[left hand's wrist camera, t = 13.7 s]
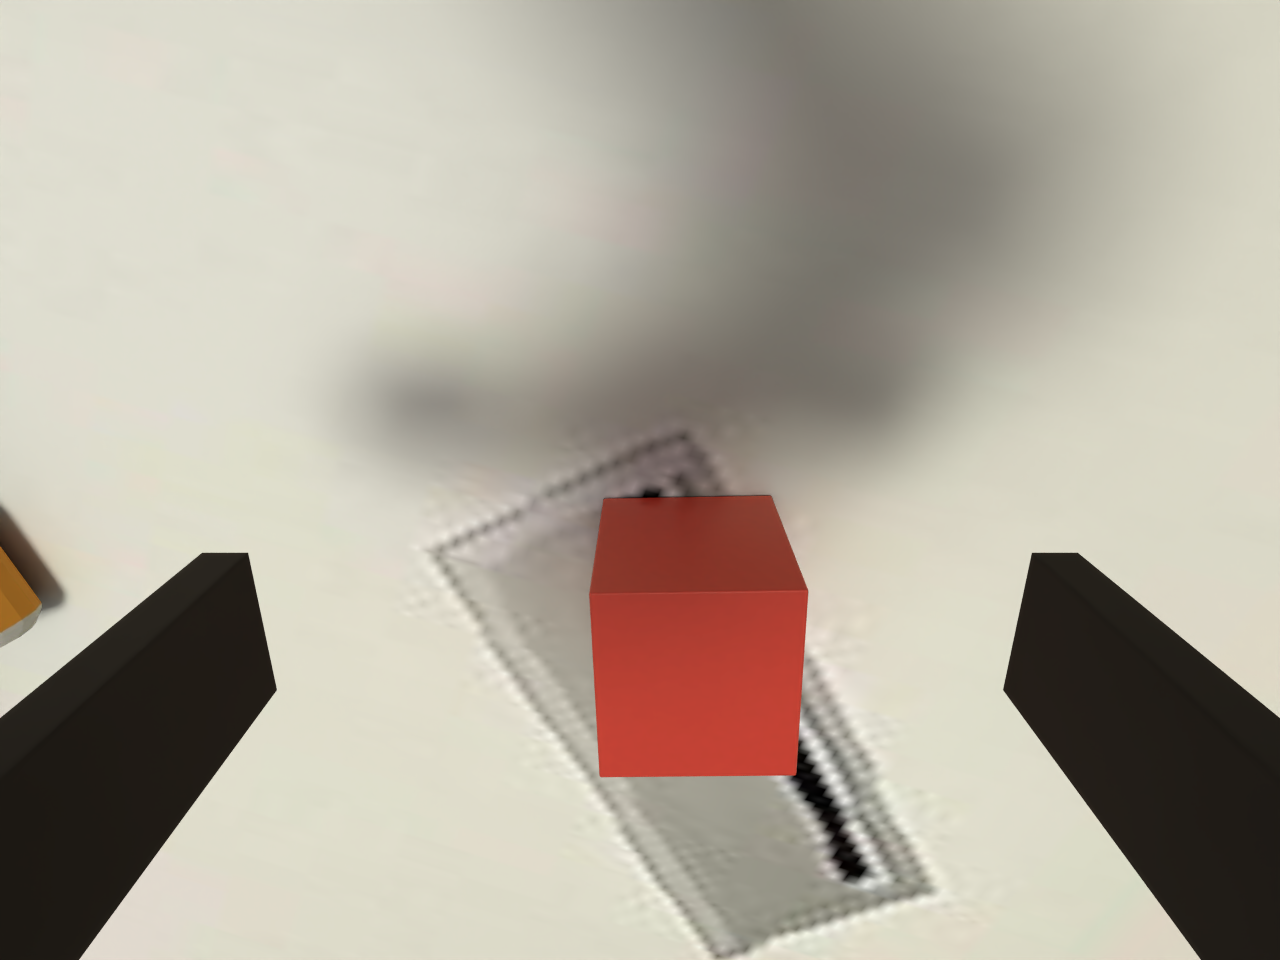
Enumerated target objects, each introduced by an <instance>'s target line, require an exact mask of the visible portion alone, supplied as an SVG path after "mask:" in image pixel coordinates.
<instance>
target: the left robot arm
mask: <svg viewBox="0 0 1280 960" xmlns="http://www.w3.org/2000/svg"><path fill="white" fill-rule="evenodd" d="M276 690H277V688H276V684H275V679H274V674H273V669H272V665H271V660H270V655H269V650H268V646H267V641H266V636H265V631H264V627H263V622H262V617H261V612H260V608H259V603H258V598H257V593H256V589H255V584H254V579H253V574H252V570H251V565H250V560H249V555H248V553H201V554H200V555H199V556H198V557H197V558H195V559H194V560H193V561H192V562H190V563H189V564H188V565H187V566H186V567H184V568H183V569H182V570H181V571H179V572H178V573H177V574H176V575H175V576H173V577H172V578H171V579H170V580H168V581H167V582H166V583H165V584H164V585H162V586H161V587H160V588H159V589H157V590H156V591H155V592H154V593H153V594H151V595H150V596H149V597H148V598H146V599H145V600H144V601H143V602H142V603H140V604H139V605H138V606H137V607H135V608H134V609H133V610H132V611H131V612H129V613H128V614H127V615H126V616H124V617H123V618H122V619H121V620H120V621H118V622H117V623H116V624H115V625H113V626H112V627H111V628H110V629H109V630H107V631H106V632H105V633H104V634H102V635H101V636H100V637H99V638H98V639H96V640H95V641H94V642H93V643H91V644H90V645H89V646H88V647H87V648H85V649H84V650H83V651H82V652H80V653H79V654H78V655H77V656H76V657H74V658H73V659H72V660H71V661H69V662H68V663H67V664H66V665H65V666H63V667H62V668H61V669H60V670H58V671H57V672H56V673H55V674H54V675H52V676H51V677H50V678H49V679H47V680H46V681H45V682H44V683H43V684H41V685H40V686H39V687H38V688H36V689H35V690H34V691H33V692H32V693H30V694H29V695H28V696H27V697H25V698H24V699H23V700H22V701H21V702H19V703H18V704H17V705H16V706H14V707H13V708H12V709H11V710H10V711H8V712H7V713H6V714H5V715H3V716H2V717H1V718H0V960H79V959H80V958H81V956H82V955H83V954H84V952H85V951H86V949H87V948H88V947H89V945H90V944H91V943H92V941H93V940H94V939H95V937H96V936H97V934H98V933H99V932H100V930H101V929H102V928H103V926H104V925H105V924H106V922H107V921H108V919H109V918H110V917H111V915H112V914H113V913H114V911H115V910H116V909H117V907H118V906H119V904H120V903H121V902H122V900H123V899H124V898H125V896H126V895H127V894H128V892H129V891H130V889H131V888H132V887H133V885H134V884H135V883H136V881H137V880H138V879H139V877H140V876H141V874H142V873H143V872H144V870H145V869H146V868H147V866H148V865H149V864H150V862H151V861H152V859H153V858H154V857H155V855H156V854H157V853H158V851H159V850H160V849H161V847H162V846H163V844H164V843H165V842H166V840H167V839H168V838H169V836H170V835H171V834H172V832H173V831H174V829H175V828H176V827H177V825H178V824H179V823H180V821H181V820H182V819H183V817H184V816H185V814H186V813H187V812H188V810H189V809H190V808H191V806H192V805H193V804H194V802H195V801H196V799H197V798H198V797H199V795H200V794H201V793H202V791H203V790H204V789H205V787H206V786H207V784H208V783H209V782H210V780H211V779H212V778H213V776H214V775H215V774H216V772H217V771H218V769H219V768H220V767H221V765H222V764H223V763H224V761H225V760H226V759H227V757H228V756H229V754H230V753H231V752H232V750H233V749H234V748H235V746H236V745H237V744H238V742H239V741H240V739H241V738H242V737H243V735H244V734H245V733H246V731H247V730H248V729H249V727H250V726H251V724H252V723H253V722H254V720H255V719H256V718H257V716H258V715H259V714H260V712H261V711H262V709H263V708H264V707H265V705H266V704H267V703H268V701H269V700H270V699H271V697H272V696H273V694H274V693H275V692H276ZM1003 690H1004V692H1005V693H1006V694H1007V696H1008V697H1009V699H1010V700H1011V701H1012V703H1013V704H1014V705H1015V707H1016V708H1017V709H1018V711H1019V712H1020V714H1021V715H1022V716H1023V718H1024V719H1025V720H1026V722H1027V723H1028V724H1029V726H1030V727H1031V729H1032V730H1033V731H1034V733H1035V734H1036V735H1037V737H1038V738H1039V739H1040V741H1041V742H1042V744H1043V745H1044V746H1045V748H1046V749H1047V750H1048V752H1049V753H1050V754H1051V756H1052V757H1053V759H1054V760H1055V761H1056V763H1057V764H1058V765H1059V767H1060V768H1061V769H1062V771H1063V772H1064V774H1065V775H1066V776H1067V778H1068V779H1069V780H1070V782H1071V783H1072V784H1073V786H1074V787H1075V789H1076V790H1077V791H1078V793H1079V794H1080V795H1081V797H1082V798H1083V799H1084V801H1085V802H1086V804H1087V805H1088V806H1089V808H1090V809H1091V810H1092V812H1093V813H1094V814H1095V816H1096V817H1097V819H1098V820H1099V821H1100V823H1101V824H1102V825H1103V827H1104V828H1105V829H1106V831H1107V832H1108V834H1109V835H1110V836H1111V838H1112V839H1113V840H1114V842H1115V843H1116V844H1117V846H1118V847H1119V849H1120V850H1121V851H1122V853H1123V854H1124V855H1125V857H1126V858H1127V859H1128V861H1129V862H1130V864H1131V865H1132V866H1133V868H1134V869H1135V870H1136V872H1137V873H1138V874H1139V876H1140V877H1141V879H1142V880H1143V881H1144V883H1145V884H1146V885H1147V887H1148V888H1149V889H1150V891H1151V892H1152V894H1153V895H1154V896H1155V898H1156V899H1157V900H1158V902H1159V903H1160V904H1161V906H1162V907H1163V909H1164V910H1165V911H1166V913H1167V914H1168V915H1169V917H1170V918H1171V919H1172V921H1173V922H1174V924H1175V925H1176V926H1177V928H1178V929H1179V930H1180V932H1181V933H1182V934H1183V936H1184V937H1185V939H1186V940H1187V941H1188V943H1189V944H1190V945H1191V947H1192V948H1193V949H1194V951H1195V952H1196V954H1197V955H1198V956H1199V958H1200V959H1201V960H1280V718H1279V717H1278V716H1277V715H1275V714H1274V713H1273V712H1272V711H1270V710H1269V709H1268V708H1267V707H1266V706H1264V705H1263V704H1262V703H1261V702H1259V701H1258V700H1257V699H1256V698H1255V697H1253V696H1252V695H1251V694H1250V693H1248V692H1247V691H1246V690H1245V689H1244V688H1242V687H1241V686H1240V685H1239V684H1237V683H1236V682H1235V681H1234V680H1233V679H1231V678H1230V677H1229V676H1228V675H1226V674H1225V673H1224V672H1223V671H1222V670H1220V669H1219V668H1218V667H1217V666H1215V665H1214V664H1213V663H1212V662H1211V661H1209V660H1208V659H1207V658H1206V657H1204V656H1203V655H1202V654H1201V653H1200V652H1198V651H1197V650H1196V649H1195V648H1193V647H1192V646H1191V645H1190V644H1189V643H1187V642H1186V641H1185V640H1184V639H1182V638H1181V637H1180V636H1179V635H1178V634H1176V633H1175V632H1174V631H1173V630H1171V629H1170V628H1169V627H1168V626H1167V625H1165V624H1164V623H1163V622H1162V621H1160V620H1159V619H1158V618H1157V617H1156V616H1154V615H1153V614H1152V613H1151V612H1149V611H1148V610H1147V609H1146V608H1145V607H1143V606H1142V605H1141V604H1140V603H1138V602H1137V601H1136V600H1135V599H1134V598H1132V597H1131V596H1130V595H1129V594H1127V593H1126V592H1125V591H1124V590H1123V589H1121V588H1120V587H1119V586H1118V585H1116V584H1115V583H1114V582H1113V581H1112V580H1110V579H1109V578H1108V577H1107V576H1105V575H1104V574H1103V573H1102V572H1101V571H1099V570H1098V569H1097V568H1096V567H1094V566H1093V565H1092V564H1091V563H1090V562H1088V561H1087V560H1086V559H1085V558H1083V557H1082V556H1081V555H1080V554H1079V553H1032V555H1031V560H1030V565H1029V570H1028V574H1027V579H1026V584H1025V589H1024V593H1023V598H1022V603H1021V608H1020V612H1019V617H1018V622H1017V627H1016V631H1015V636H1014V641H1013V646H1012V650H1011V655H1010V660H1009V665H1008V669H1007V674H1006V679H1005V684H1004V688H1003Z"/></svg>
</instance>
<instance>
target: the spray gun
mask: <svg viewBox="0 0 1280 960" xmlns="http://www.w3.org/2000/svg"><path fill="white" fill-rule="evenodd" d="M41 609H42V603H41V601H40V600H39V599H38V597H37V596H36V595H35V593H34V592H33V590H32V589H31V588H30V586H29V585H28V584H27V582H26V581H25V579H24V578H23V577H22V575H21V574H20V573H19V571H18V570H17V568H16V567H15V566H14V564H13V563H12V562H11V560H10V559H9V557H8V556H7V555H6V553H5V552H4V551H3V549H2V548H1V546H0V647H2V646H4V645H6V644H8V643H9V642H11V641H13V640H15V639H17V638H18V637H20V636H22V635H23V634H24V633H26V632H27V631H28V630H29V629H31V628H32V627H33V625H34V624H35V623H36V621H37V618H38V616H39V613H40V611H41Z"/></svg>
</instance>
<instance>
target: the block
mask: <svg viewBox="0 0 1280 960" xmlns="http://www.w3.org/2000/svg"><path fill="white" fill-rule="evenodd" d="M589 598H590V615H591V633H592V650H593V668H594V686H595V703H596V721H597V738H598V756H599V774H600V777H668V776H772V775H796V767H797V752H798V737H799V722H800V707H801V693H802V678H803V663H804V648H805V633H806V618H807V603H808V589H807V586H806V584H805V581H804V578H803V576H802V573H801V571H800V568H799V566H798V563H797V561H796V558H795V555H794V553H793V550H792V548H791V545H790V543H789V540H788V538H787V535H786V532H785V530H784V527H783V525H782V522H781V520H780V517H779V515H778V512H777V509H776V507H775V504H774V502H773V499H772V497H771V496H725V497H668V498H612V499H604V500H603V506H602V513H601V519H600V526H599V533H598V539H597V546H596V553H595V559H594V566H593V573H592V579H591V586H590V593H589Z"/></svg>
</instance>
